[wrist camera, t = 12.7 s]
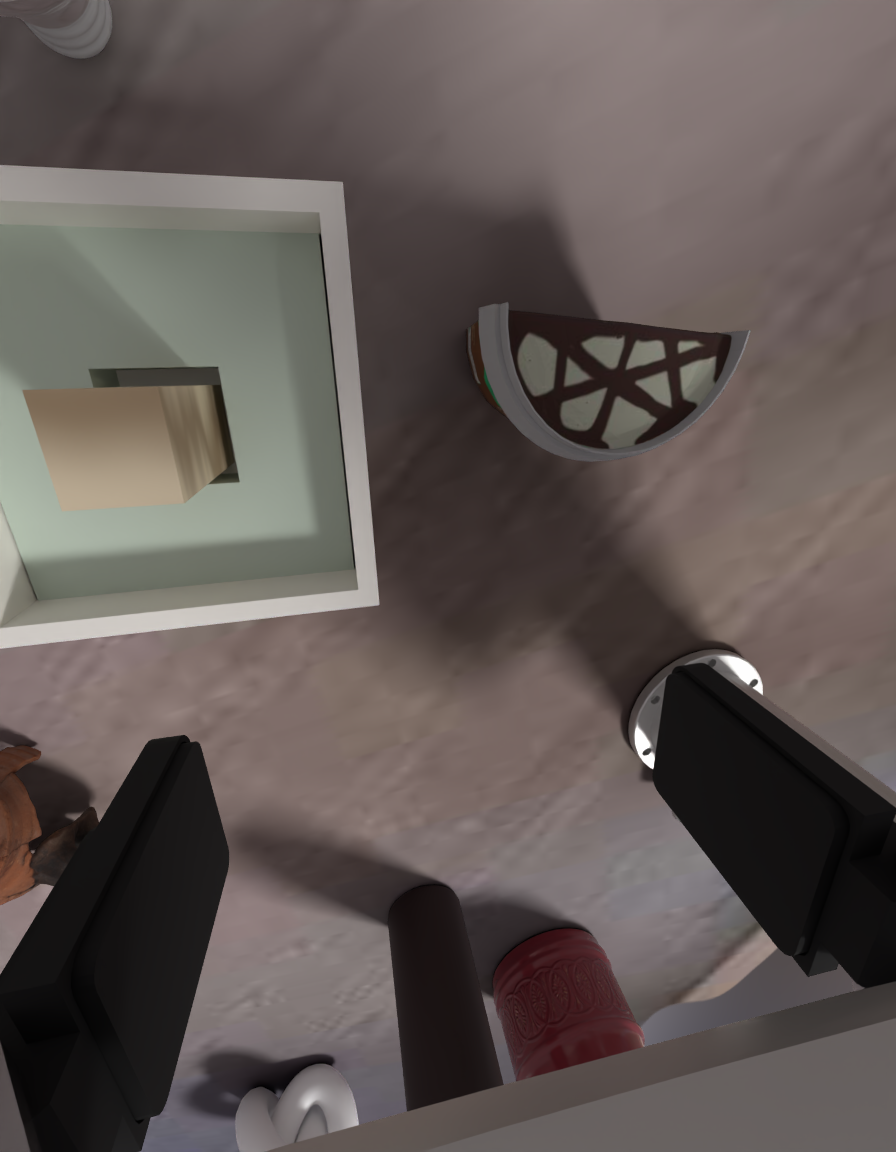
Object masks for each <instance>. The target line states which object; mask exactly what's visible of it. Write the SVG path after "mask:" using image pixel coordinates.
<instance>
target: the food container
mask: <svg viewBox="0 0 896 1152" xmlns="http://www.w3.org/2000/svg"><path fill="white" fill-rule="evenodd" d="M508 305H509V302H505V303H503V304H492V305H488V306H484V307H480V308H479V321H477V322H476V323H475V324H473V325H472V326H470V327H469V328H468V329H466V352H467V356H468V360H469V364H470V368H471V372H472V376H473V379H474V381H475V382H476V384H477V386H478V387H479V389H480V391H481V392H482V394H483V396H484V397H485V399H486V401H488V402H489V403H490V404H491V405H492V406H493V407H495V408H496V409H497V410H498V411H499V412H500V413H502V414H503V415H504V416H506V417H508V418H509V420H510V421H511V422H512V423H513V424H514V425H515V426H516V427H517V429H518V430H519V431H520V432H521V433H522V434H523V435H525V436H526V437H527V438H528V439H530V440H531V441H532V442H533V443H535V444H536V445H537V446H539V447H541V448H543V449H545V450H547V451H549V452H550V453H552V454H555V455H558V456H561V457H564V458H567V459H571V460H579V461H587V462H590V461H607V460H615V459H622V458H626V457H631V456H636V455H639V454H642V453H644V452H647V451H650V450H652V449H655V448H657V447H658V446H660V445H662V444H664V443H666V442H667V441H669V440H671V439H673V438H674V437H676V436H678V435H680V434H681V433H682V432H684V431H685V430H686V429H687V428H689V427H690V426H691V425H693V424H694V423H695V422H696V421H697V420H698V419H699V418H700V417H701V416H702V415H703V414H704V413H705V412H706V411H707V410H708V409H709V408H710V407H711V406H712V404H713V403H714V402H715V401H716V399H717V398H718V397H719V395H720V394H721V393H722V391H723V390H724V388H725V387H726V385H727V383H728V382H729V380H730V378H731V377H732V375H733V373H734V372H735V370H736V367H737V365H738V363H739V361H740V359H741V356H742V354H743V352H744V349H745V346H746V343H747V340H748V337H749V334H750V331H751V330H747V331H736V332H726V333H706V332H696V331H688V330H680V329H671V328H663V327H655V326H648V325H641V324H634V323H626V322H615V321H603V320H593V319H584V318H575V317H567V316H558V315H549V314H540V313H531V312H520V311H510V310H508Z"/></svg>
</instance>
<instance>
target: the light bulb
mask: <svg viewBox="0 0 896 1152" xmlns="http://www.w3.org/2000/svg"><path fill="white" fill-rule="evenodd" d="M0 16H2V17H18V18H20V19H21V20H23V21H24V23H25V24H26V25H27V26H28V27H29V28H30V29H31V31H32V32H33V33H34V34H35V35H36V36H37V37H38V38H39V39H40V40H41V41H42V42H43V43H44V44H45V45H47V46H48V47H49V48H51V49H52V50H54V51H56V52H58V53H60V54H62V55H65V56H68V57H71V58H81V59H84V58H90V57H93V56H95V55H97V54H98V53H100V52H101V51H102V50H103V48H104V47H105V46H106V44H107V42H108V40H109V38H110V35H111V31H112V13H111V8H110V4H109V0H0Z"/></svg>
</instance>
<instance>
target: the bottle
mask: <svg viewBox="0 0 896 1152" xmlns="http://www.w3.org/2000/svg"><path fill="white" fill-rule="evenodd" d="M388 927H389V937H390V947H391V957H392V967H393V977H394V987H395V997H396V1007H397V1017H398V1027H399V1037H400V1047H401V1057H402V1067H403V1077H404V1086H405V1096H406V1106H407V1112H408V1111H411V1110H415V1109H418V1108H422V1107H426V1106H429V1105H433V1104H436V1103H440V1102H444V1101H447V1100H451V1099H455V1098H458V1097H462V1096H465V1095H469V1094H473V1093H476V1092H480V1091H483V1090H487V1089H491V1088H494V1087H498V1086H502V1085H504V1084H503V1080H502V1076H501V1072H500V1068H499V1064H498V1060H497V1055H496V1051H495V1047H494V1043H493V1039H492V1035H491V1031H490V1026H489V1022H488V1018H487V1014H486V1010H485V1006H484V1002H483V998H482V993H481V989H480V985H479V981H478V977H477V973H476V969H475V964H474V960H473V956H472V952H471V948H470V944H469V940H468V935H467V931H466V927H465V923H464V919H463V915H462V911H461V906H460V902H459V899H458V897H457V896H456V894H455V893H454V892H453V891H452V890H450V889H448V888H446V887H444V886H438V885H427V886H422V887H418V888H415V889H412V890H411V891H409V892H407V893H405V894H404V895H402V896H401V897H400V898H399V899H398V900H397V901H396V902H395V903H394V905H393V906H392V908H391V909H390V912H389V917H388Z"/></svg>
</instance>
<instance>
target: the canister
mask: <svg viewBox="0 0 896 1152" xmlns="http://www.w3.org/2000/svg"><path fill="white" fill-rule="evenodd" d="M492 985H493V991H494V1004H495V1007H496V1012H497V1015H498V1017H499V1019H500V1020H501V1024H502V1028H503V1032H504V1035H505V1039H506V1043H507V1047H508V1051H509V1055H510V1058H511V1062H512V1066H513V1070H514V1074H515V1078H516V1081H520V1080H524V1079H528V1078H531V1077H535V1076H539V1075H542V1074H546V1073H550V1072H553V1071H557V1070H561V1069H564V1068H568V1067H572V1066H575V1065H579V1064H583V1063H586V1062H590V1061H594V1060H598V1059H601V1058H605V1057H609V1056H612V1055H616V1054H620V1053H623V1052H627V1051H631V1050H635V1049H638V1048H642V1047H644V1034H643V1031H642V1029H641V1027H640V1026H639V1025H638V1024H637V1023H636V1021H635V1018H634V1016H633V1014H632V1012H631V1010H630V1008H629V1006H628V1004H627V1002H626V999H625V997H624V995H623V993H622V991H621V989H620V987H619V985H618V982H617V980H616V978H615V976H614V974H613V972H612V968H611V964H610V961H609V960H608V958H607V956H606V953H605V951H604V950H603V949H602V947H601V946H600V945H599V944H598V942H597V940H596V939H595V938H594V937H593V936H592V935H591V934H589V933H588V932H585V931H583V930H578V929H557V930H552V931H548V932H545V933H542V934H539V935H537V936H534V937H532V938H530V939H528V940H526V941H525V942H523V943H521V944H520V945H518V946H517V947H516V948H514V949H513V950H512V951H511V952H510V953H509V954H507V956H506V957H505V958H504V959H503V960H502V961H501V963H500V964H499V966H498V967H497V969H496V971H495V973H494V976H493V982H492Z"/></svg>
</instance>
